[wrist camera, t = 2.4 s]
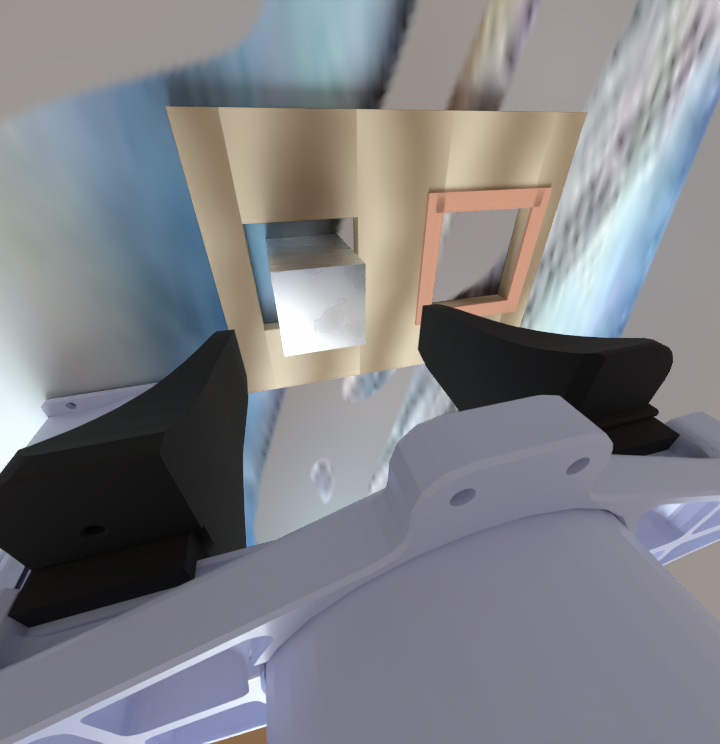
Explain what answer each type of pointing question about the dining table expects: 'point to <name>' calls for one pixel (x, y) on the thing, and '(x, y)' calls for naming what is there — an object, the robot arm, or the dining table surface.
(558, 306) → the dining table surface
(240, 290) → the rail
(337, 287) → the steel peg
